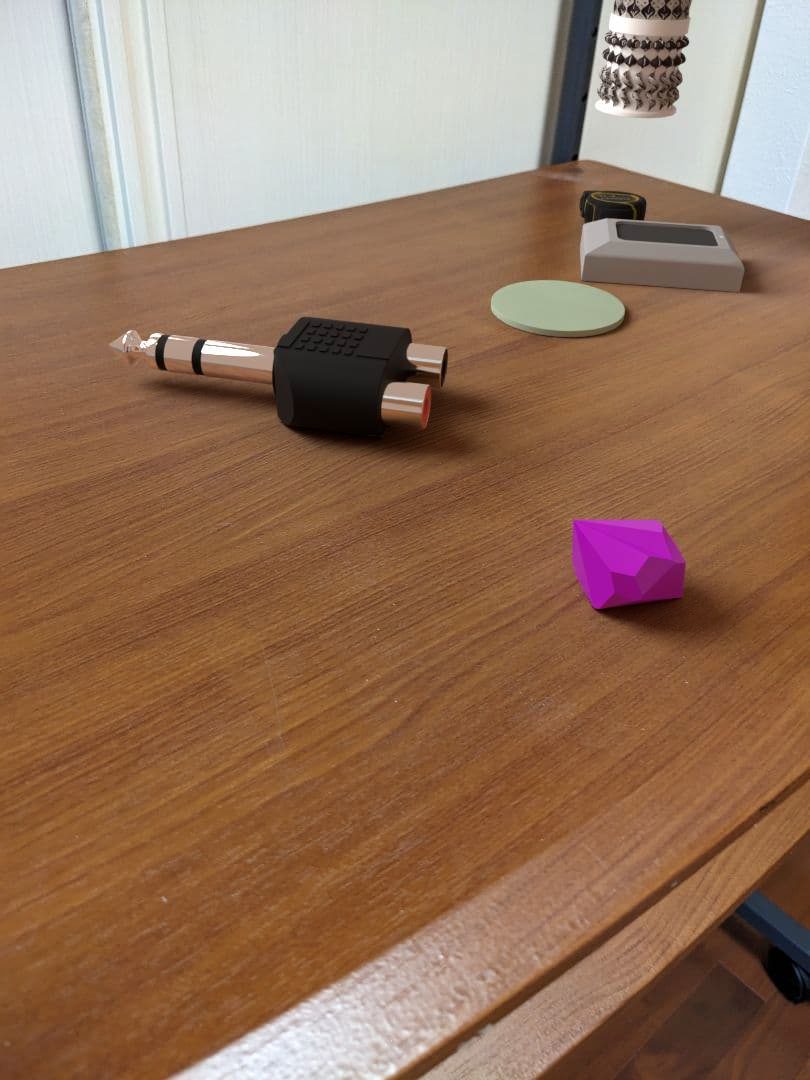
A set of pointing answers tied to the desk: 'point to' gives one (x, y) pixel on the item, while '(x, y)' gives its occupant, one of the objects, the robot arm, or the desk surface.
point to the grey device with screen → (660, 255)
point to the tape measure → (611, 206)
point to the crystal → (626, 562)
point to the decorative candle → (644, 58)
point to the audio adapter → (315, 372)
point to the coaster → (557, 308)
